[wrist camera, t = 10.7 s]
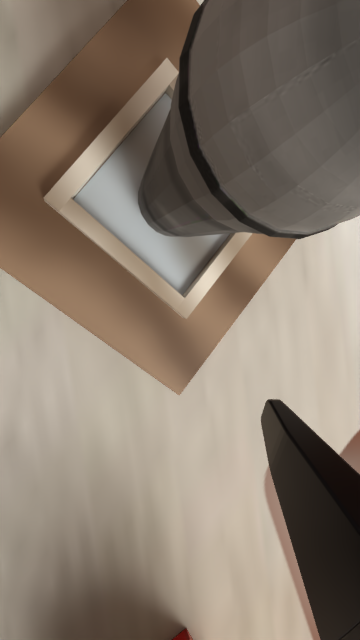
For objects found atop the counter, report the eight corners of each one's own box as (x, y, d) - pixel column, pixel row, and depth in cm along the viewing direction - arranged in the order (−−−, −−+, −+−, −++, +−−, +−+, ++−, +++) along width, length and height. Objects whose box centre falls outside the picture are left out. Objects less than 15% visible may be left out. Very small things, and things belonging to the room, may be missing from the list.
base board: (173, 389, 23) (182, 399, 21) (-63, 219, 17) (-80, 213, 15) (320, 194, 25) (340, 187, 23) (160, -23, 19) (170, -56, 17)
